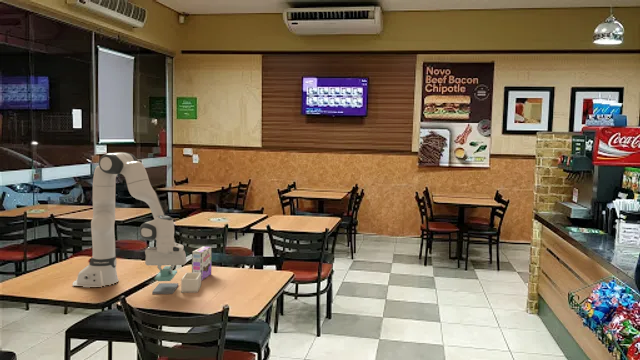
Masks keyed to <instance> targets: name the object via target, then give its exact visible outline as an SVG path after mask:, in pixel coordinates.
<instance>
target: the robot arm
mask: <svg viewBox="0 0 640 360" xmlns="http://www.w3.org/2000/svg"><path fill="white" fill-rule="evenodd" d="M118 175H122V176H124V179H125V182H126V186H127V190H128V192H129V194H130V195H131V196H130V197H133V198H135V200H139V201H142V202H144V203H146V205H148V207H149V209H150V212H151V214H152V217H153V219H152V220H149V221H146V222H143V223H142V224H141V225H140V227H139V235H140V238H142V239H143V240H145V241H152V240H155V241H156V246H154V247H151V246H149V247H147V248H146V249H145V250H144V254H145V260H144V261H145V262H144V263H145V265H146V266H157V269H158V270H159V272H160V274H161V270H162V269H163V268H162V266H171V269H169V274H172V271H173V269H174V268H175V266H185V264H186V263H187V255H186V251H185V249H184V245H183V244H181V243H177V242H175V238H174V236H175V222H174V219H173V217H171V216H169V215H166V213H165V210H164V208H163V204H162V203H161V200H160V197H159V195H158V193H157V192H156V191H155V190H154V188H153V187H152V184H151V182H150V179H149V175H148V173H147V170H146V168H145V165H144V164H143V162H141V161H139V160H137V158H136V157H135V154H132V153H130V152H121V151H120V152H108V153H105V154H103V155H102V156H101V157H100V158H99V160H98V165H97V166H96V167H95V169H94V173H93V177H92V199H91V200H92V219H91V221H90V229H91V231H90V232H91V242H92V243H91V244H92V256H90V258H89V259H88V261H87V263H88V265H87V266H85V267H84V268H83V269H81V270H80V271H79V272H78V274H77V278H76V280H74V281H73V282H72V285H73V286H72V287H74V286H83V287H82V288H90V287H101V286H104V287H106V286H105V285H109V286H111V285H110V284H113V285H115V284H114V283H116V282H118V281H120V279H119V278H118V277H119V276H118V273H117V256H116V238H115V237H116V235H115V222H116V184H117V183H116V180H117V179H116V178H117V176H118ZM118 283H119V282H118ZM116 284H117V283H116ZM101 288H102V287H101Z"/></svg>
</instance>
